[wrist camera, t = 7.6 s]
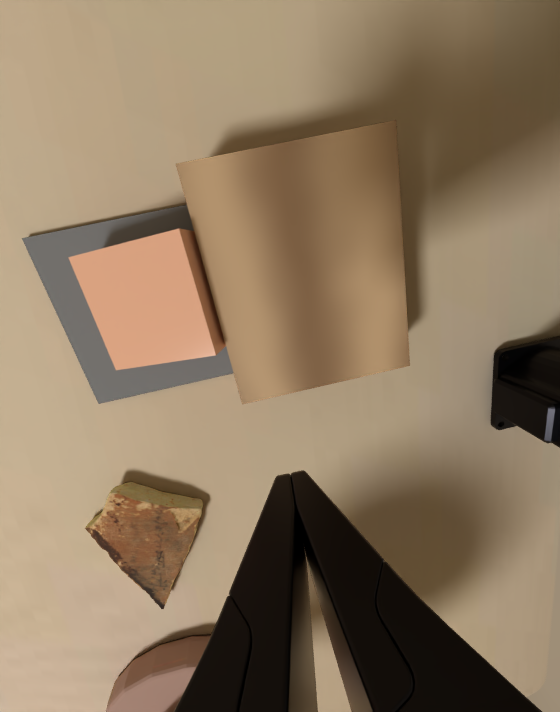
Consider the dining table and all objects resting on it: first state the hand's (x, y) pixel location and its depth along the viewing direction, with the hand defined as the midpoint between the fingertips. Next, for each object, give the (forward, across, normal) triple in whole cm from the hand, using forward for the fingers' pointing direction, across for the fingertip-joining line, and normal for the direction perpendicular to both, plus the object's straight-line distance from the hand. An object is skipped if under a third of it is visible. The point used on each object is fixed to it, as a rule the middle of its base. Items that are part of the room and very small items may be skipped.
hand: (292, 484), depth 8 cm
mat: (+11, +7, -5) cm, 14 cm away
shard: (+12, +11, +12) cm, 20 cm away
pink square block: (+10, +5, -5) cm, 12 cm away
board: (+11, -3, -5) cm, 12 cm away
